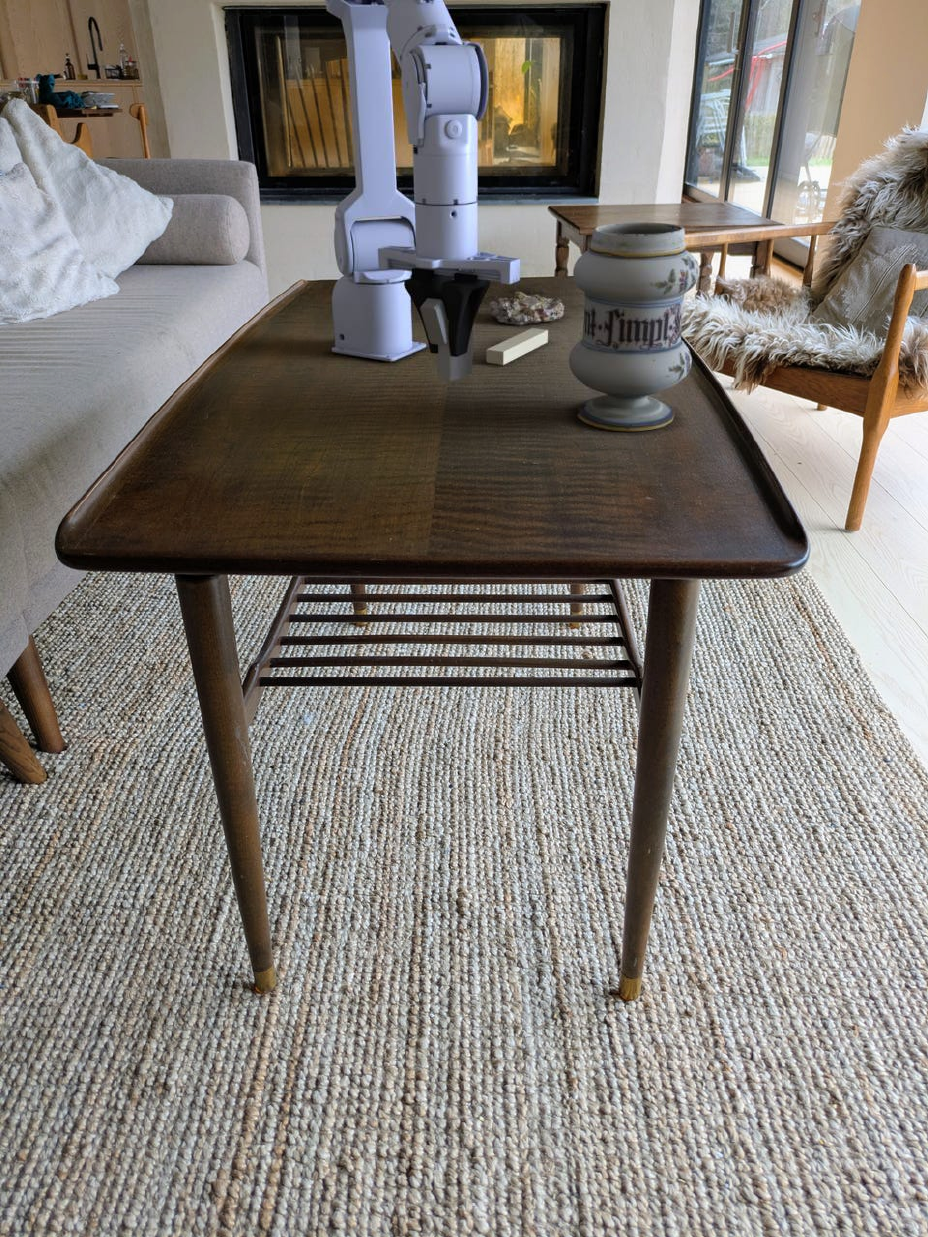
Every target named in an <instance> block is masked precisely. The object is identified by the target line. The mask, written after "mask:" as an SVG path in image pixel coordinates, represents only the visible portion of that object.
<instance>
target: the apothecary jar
mask: <svg viewBox="0 0 928 1237" xmlns="http://www.w3.org/2000/svg"><path fill="white" fill-rule="evenodd" d="M591 235H592V236H591V242H590V243H589V247H588V249H587V250H586V251H585V252H583V253H582V254H581V255H580V256H579V257H578V259H577V260H576V261H575V264H574V266H573V270H572V276H573V280H574V283H575V285H576V286H577V288H579V289H580V290H581V291H582V292H583V293H584V294H583V296H584V297H583V298H584V299H583V300H584V301H583V302H584V303H583V304H584V306H583V307H584V308H583V323H582V324H583V326H582V328H583V329H582V336H581V339H579V341H577V342H576V343H575V345H574V346H573V347H572V348H571V350H570V352H569V356H568V365H569V369H570V371H571V373H572V374H573V376H574V377H575V378H576V379H577V380H578V381H579V382H580V383H581V384H582V385H584V386H586V387H587V388H589V389H591V390H594V391H597V392H599V393H602V395H599V396H596V397H593V398H590V399H587V400H585V401H583V402H582V403H581V404H579V405H578V411H579V412H578V414H577V417H578V418H579V420H581V421H582V422H583V423H584V424H587V425H589V426H592V427H595V428H598V429H602V430H607V431H614V432H624V433H625V432H628V433H629V432H631V433H633V432H634V433H636V432H645V431H651V430H658V429H661V428H664V427H665V426H667V425H669V424H671V423H672V422H673V420H674V419H675V412H674V411H673V409H672V408H671V407H670V406H668V405H667V404H666V403H665V402H662V401H660V400H658V399H657V398H654V397H652V396H650V395H654V394H657V393H661V392H662V391H665V390H668V389H670V388H672V387H674V386H676V385H677V384H679V383H680V382H681V381H682V380H683V379H685V378H686V377H687V376H688V374H689V373H690V371H691V368H692V363H693V358H692V353H691V351H690V349H689V346H687V344H686V343H685V341H683V339H682V328H683V324H682V322H683V311H684V301H685V300H684V299H685V294H686V293H688V292H689V291H691V290H692V289H693V288H694V287H695V286H696V284H697V283H698V280H699V278H700V272H701V270H700V266H699V265H700V264H699V263H698V261H697V260H696V258H695V257H694V255H693V254H691V253H690V252H689V251H688V250H687V245H686V244H687V243H686V241H685V239H686V238H685V236H686V229H685V228H684V226H681V225H679V224H672V223H666V222H647V221H646V222H645V221H643V222H642V221H634V222H633V221H632V222H631V221H629V222H617V223H615V222H614V223H608V224H602V225H599V226H596V227H595V228H594V229H593V232H592V234H591Z"/></svg>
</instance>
